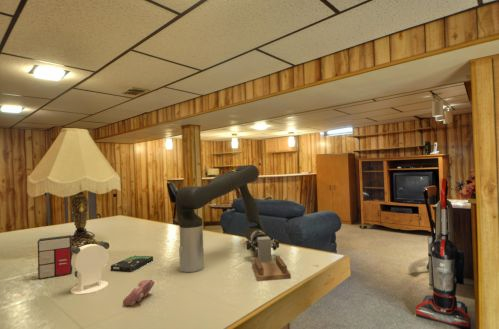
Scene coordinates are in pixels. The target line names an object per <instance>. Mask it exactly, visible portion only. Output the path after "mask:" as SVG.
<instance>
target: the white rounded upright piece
mask: <svg viewBox="0 0 499 329" xmlns="http://www.w3.org/2000/svg"><path fill="white" fill-rule="evenodd" d="M109 248H110V243H109V242H107V241H104V240H101V241H99V243H98V244H96V243H89V244H85V245H82V246H79V247H78V246H72V248H71V250H70V252H72V259H71V265H72V270H74V271H75V272H74V277H76V279H77V280H76V281H77V283H76V285H75V286H74V287H72V288H71V290H70V293H71V294H72V295H77V296H84V295H89V294H93V293H96V292H100V291H103V290H104V289H106V288H107V287H108V286H109V282H108V281H106V280H102V276H103V269H104V268H105V266H107V264H108V263H109V259H110V256H109V252H108V249H109Z"/></svg>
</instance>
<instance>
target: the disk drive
mask: <svg viewBox="0 0 499 329" xmlns="http://www.w3.org/2000/svg"><path fill="white" fill-rule="evenodd" d="M151 261H153V262H154V256H153V255H132V256H130V257H127V258H124V259H123V260H120V261H118V262H115V263H114V264H111V265H110V271H111V272H119V273H120V272H121V273H134V272H135V271H137V270H139V269H141V268H142V266H143V267H144V265H145V266H147V265H148V264H147V263H149V262H151ZM151 263H152V262H151ZM146 264H147V265H146ZM149 264H150V263H149ZM140 267H141V268H140Z"/></svg>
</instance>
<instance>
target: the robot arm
mask: <svg viewBox="0 0 499 329" xmlns="http://www.w3.org/2000/svg"><path fill="white" fill-rule="evenodd" d="M259 175H260V171H259V168H258V167H257V166H256V165H255V164H245V165H239V166H238V167H237V168H236V169H235V171H230V172H226V173H222V174H219V175H217V176H215V177H213V179H212V180H211V181H210V182H209V183H207V184H204V185H200V186H181V187H180V188H179V189H178V190H177V192H176V196H175V208H176V218H177V221H178V223H179V224H178V225H179V248H178V251H179V252H178V253H179V272H184V273H194V272H195V273H196V272H199V271H202V270H203V269H205V261H204V258H205V257H204V233H203V232H204V230H203V226H204V225H203V218H202V217H200V216H199V215H198V214H197V213H196V212H195V210H200V209H202V208H204V207H205V206H206V205H208V204H209V203H211V202H212V201H214V200H216V199H219V198H220V197H222V196H225V195H228V194H229V193H232V192H233V191H235V190H237V189H239V192H240V195H241V198H242V203H243V206H244V212H245V220H246V222H248V223H255V224H256V225H251V226H250V225H249V226H247V227H246V228H245V230H244V236H245V238H246V239H247V240H246V241H245V244H246V247H245V248H246V250H247V251H249V250H251V251H253V252H256V250H258V246H257V237H267V235H266V230H265V228H264V226H263V224H262V221H261V219H260V213H259V212H260V211H259V207H258V206H259V205H258V203H257V202H256V199H255V198H254V196H253V195H252V194H251V191H250V190H249V187H248V184H251V183H254V182H256V181H257V180H258V178H259ZM277 248H280V242H279V240H277V239H276V238H273V239H272V240H271V249H272V250H273V251H276V250H277Z"/></svg>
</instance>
